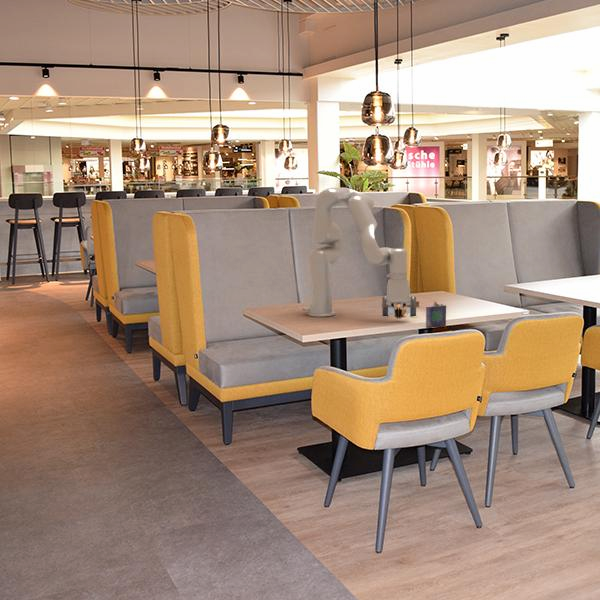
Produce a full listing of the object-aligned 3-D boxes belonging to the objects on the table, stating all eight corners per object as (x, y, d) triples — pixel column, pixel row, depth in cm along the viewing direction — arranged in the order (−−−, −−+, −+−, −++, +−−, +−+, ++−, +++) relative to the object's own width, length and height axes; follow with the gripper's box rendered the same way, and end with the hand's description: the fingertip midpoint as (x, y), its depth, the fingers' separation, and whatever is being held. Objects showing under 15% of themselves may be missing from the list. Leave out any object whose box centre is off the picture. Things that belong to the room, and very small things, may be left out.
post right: (410, 316, 361) (410, 297, 360) (410, 315, 364) (410, 296, 362) (416, 316, 361) (416, 297, 360) (416, 315, 363) (416, 296, 362)
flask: (427, 327, 334) (427, 302, 332) (424, 326, 336) (424, 301, 335) (447, 326, 337) (447, 301, 335) (443, 325, 339) (443, 300, 338)
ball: (393, 318, 364) (394, 313, 359) (393, 307, 366) (393, 302, 361) (406, 318, 364) (407, 313, 359) (405, 306, 366) (406, 302, 361)
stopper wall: (382, 306, 391) (382, 301, 391) (382, 306, 393) (382, 301, 393) (419, 306, 388) (419, 301, 388) (419, 306, 390) (419, 301, 390)
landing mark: (384, 313, 371) (384, 313, 371) (385, 308, 385) (385, 308, 385) (414, 313, 369) (414, 313, 369) (414, 308, 383) (414, 308, 383)
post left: (382, 316, 363) (382, 297, 362) (382, 315, 366) (382, 296, 364) (388, 316, 363) (387, 297, 361) (388, 315, 365) (388, 296, 364)
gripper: (380, 277, 345) (381, 319, 348) (415, 277, 343) (415, 319, 346) (381, 275, 352) (381, 316, 355) (415, 275, 350) (415, 316, 353)
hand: (398, 317), depth 350 cm, fingers closed
